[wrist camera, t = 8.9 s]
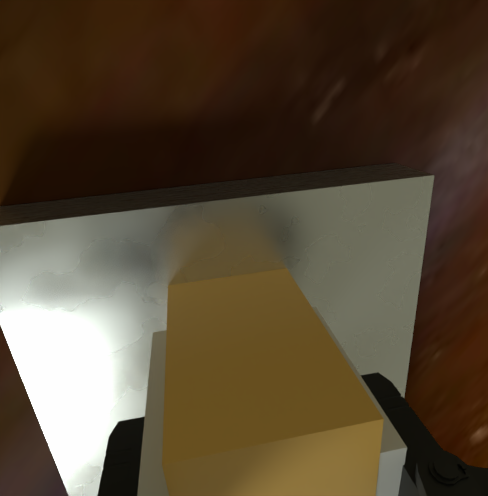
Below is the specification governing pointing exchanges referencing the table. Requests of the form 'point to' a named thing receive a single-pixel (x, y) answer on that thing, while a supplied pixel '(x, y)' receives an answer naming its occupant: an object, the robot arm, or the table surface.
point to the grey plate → (196, 269)
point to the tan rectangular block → (261, 395)
